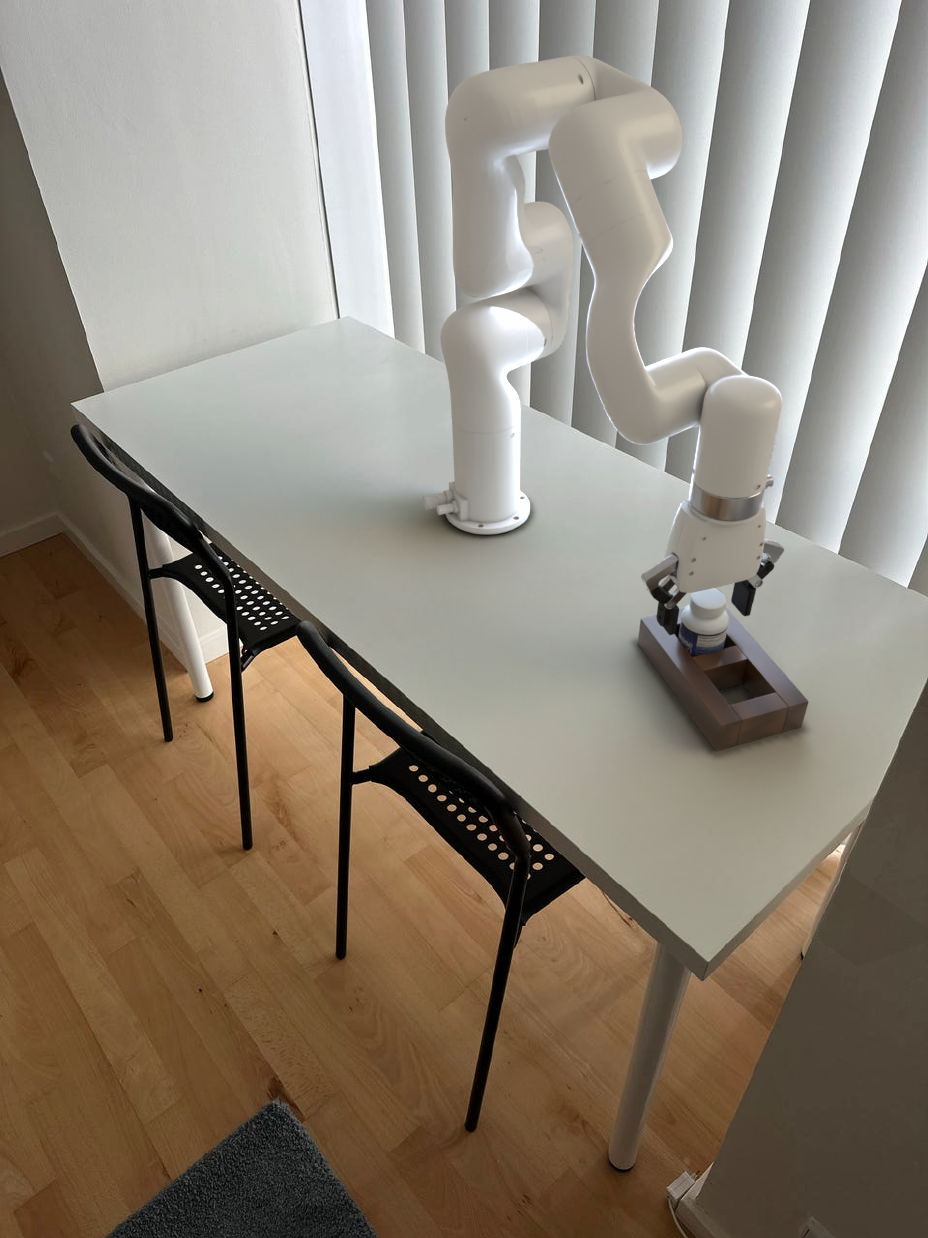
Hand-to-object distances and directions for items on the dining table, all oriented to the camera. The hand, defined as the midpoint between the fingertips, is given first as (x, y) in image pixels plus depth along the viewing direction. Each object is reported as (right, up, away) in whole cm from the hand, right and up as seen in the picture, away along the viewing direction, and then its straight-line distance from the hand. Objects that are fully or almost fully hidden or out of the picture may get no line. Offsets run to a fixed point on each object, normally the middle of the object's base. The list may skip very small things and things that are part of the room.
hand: (703, 618), depth 111 cm
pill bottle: (0, -5, +4) cm, 7 cm away
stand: (+2, -8, +1) cm, 8 cm away
